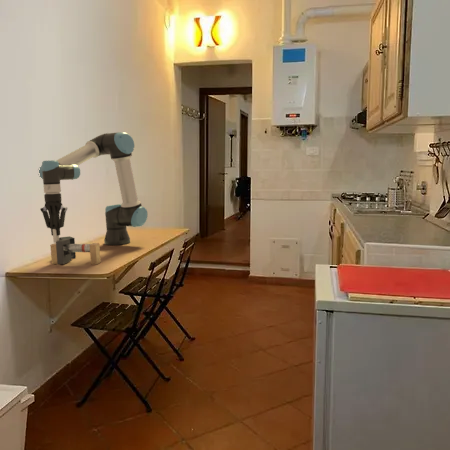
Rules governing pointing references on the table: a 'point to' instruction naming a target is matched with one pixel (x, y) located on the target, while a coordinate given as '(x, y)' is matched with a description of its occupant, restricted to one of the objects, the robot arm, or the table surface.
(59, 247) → the collar
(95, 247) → the pipe
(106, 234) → the robot arm
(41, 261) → the table surface
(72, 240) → the box
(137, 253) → the table surface
